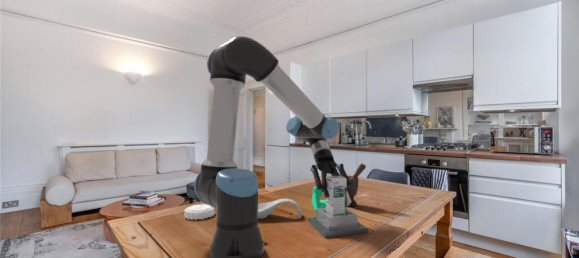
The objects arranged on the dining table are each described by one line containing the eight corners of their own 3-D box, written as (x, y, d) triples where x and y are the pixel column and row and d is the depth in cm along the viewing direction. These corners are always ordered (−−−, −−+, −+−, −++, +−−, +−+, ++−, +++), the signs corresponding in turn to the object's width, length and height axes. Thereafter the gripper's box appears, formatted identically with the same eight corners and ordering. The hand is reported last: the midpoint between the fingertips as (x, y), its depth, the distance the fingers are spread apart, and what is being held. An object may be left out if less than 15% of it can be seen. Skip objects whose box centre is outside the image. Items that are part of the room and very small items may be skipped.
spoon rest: (241, 222, 99) (241, 203, 99) (246, 212, 111) (246, 196, 111) (302, 221, 99) (302, 203, 100) (300, 212, 111) (300, 195, 111)
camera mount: (334, 213, 110) (334, 189, 110) (317, 213, 109) (316, 189, 109) (327, 205, 122) (327, 183, 122) (311, 205, 121) (311, 184, 121)
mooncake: (180, 215, 107) (180, 206, 107) (207, 209, 115) (207, 201, 115) (190, 222, 98) (190, 213, 98) (219, 216, 106) (219, 207, 106)
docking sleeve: (325, 237, 83) (324, 221, 84) (308, 221, 99) (308, 207, 99) (367, 232, 88) (367, 216, 88) (345, 217, 103) (345, 204, 103)
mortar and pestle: (361, 202, 126) (361, 161, 126) (367, 207, 117) (367, 163, 117) (338, 202, 126) (338, 161, 126) (342, 207, 117) (342, 164, 117)
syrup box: (332, 219, 90) (332, 178, 90) (325, 214, 96) (325, 175, 96) (347, 218, 91) (347, 177, 92) (339, 213, 97) (339, 175, 97)
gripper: (339, 159, 111) (360, 207, 95) (299, 160, 106) (313, 212, 90) (345, 147, 106) (368, 196, 90) (303, 148, 101) (319, 200, 85)
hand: (340, 204), depth 90 cm, fingers closed on syrup box, 6 cm apart
